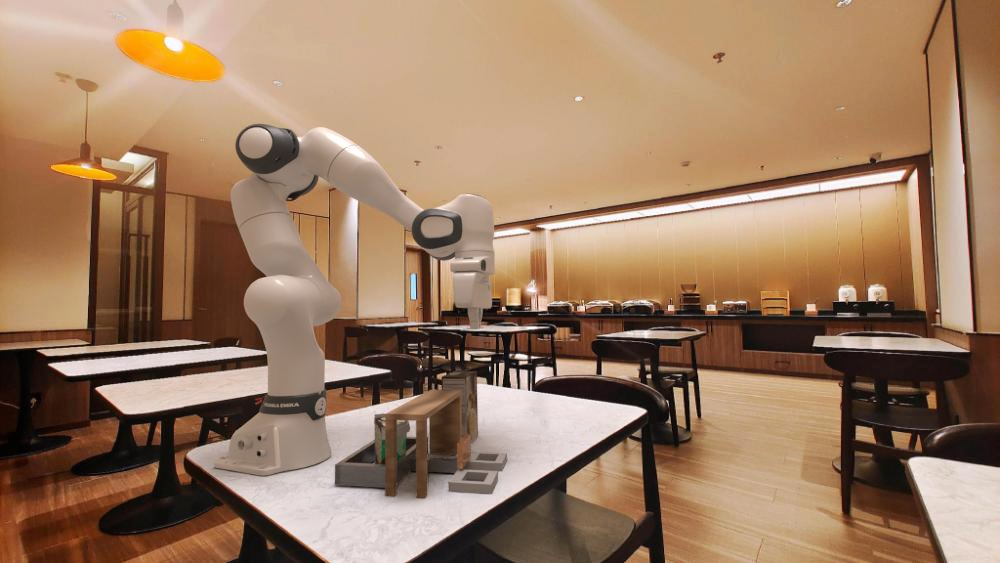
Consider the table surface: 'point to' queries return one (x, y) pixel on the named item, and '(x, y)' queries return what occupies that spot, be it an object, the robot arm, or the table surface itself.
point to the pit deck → (478, 473)
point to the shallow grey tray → (373, 475)
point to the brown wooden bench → (424, 433)
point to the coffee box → (465, 398)
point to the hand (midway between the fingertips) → (475, 329)
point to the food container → (379, 423)
